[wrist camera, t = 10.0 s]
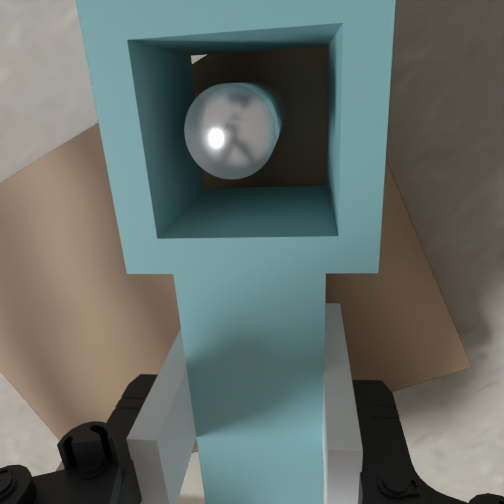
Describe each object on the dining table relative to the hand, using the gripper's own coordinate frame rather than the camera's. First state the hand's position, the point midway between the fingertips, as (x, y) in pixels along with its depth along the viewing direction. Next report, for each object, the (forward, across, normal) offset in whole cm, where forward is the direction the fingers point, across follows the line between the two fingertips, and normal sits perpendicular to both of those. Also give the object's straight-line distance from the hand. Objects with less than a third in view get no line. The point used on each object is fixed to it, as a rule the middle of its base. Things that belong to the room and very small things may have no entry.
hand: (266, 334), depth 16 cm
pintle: (+4, 0, +8) cm, 9 cm away
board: (+4, -4, 0) cm, 6 cm away
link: (+2, 0, +1) cm, 2 cm away
